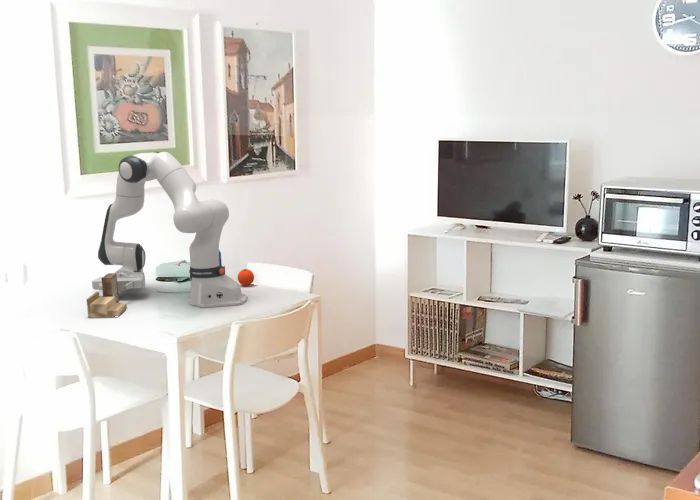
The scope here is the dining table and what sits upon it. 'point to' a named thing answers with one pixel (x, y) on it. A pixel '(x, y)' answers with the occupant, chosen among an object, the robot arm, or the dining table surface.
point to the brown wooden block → (110, 286)
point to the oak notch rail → (104, 306)
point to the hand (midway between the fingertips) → (113, 287)
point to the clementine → (245, 277)
